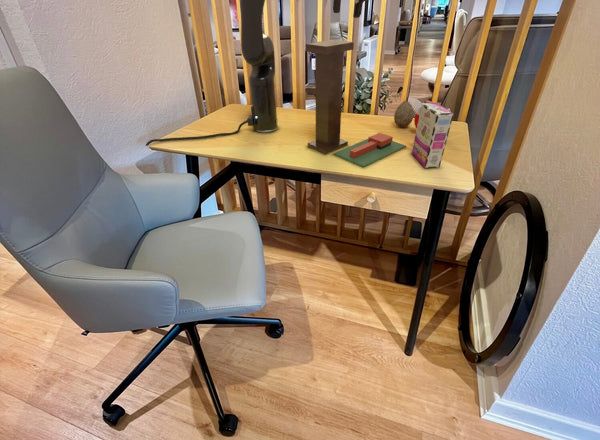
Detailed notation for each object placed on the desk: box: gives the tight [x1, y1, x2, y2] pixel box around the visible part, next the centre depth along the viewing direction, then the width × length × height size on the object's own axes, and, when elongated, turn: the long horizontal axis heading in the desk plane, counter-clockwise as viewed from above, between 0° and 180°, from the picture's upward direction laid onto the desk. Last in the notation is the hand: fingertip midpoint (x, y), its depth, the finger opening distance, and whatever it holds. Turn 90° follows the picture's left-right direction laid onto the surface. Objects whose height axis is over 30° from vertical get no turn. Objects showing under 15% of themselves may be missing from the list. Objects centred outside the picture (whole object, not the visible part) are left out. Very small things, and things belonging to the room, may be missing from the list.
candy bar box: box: [411, 102, 455, 169], centre depth 93 cm, size 11×5×16 cm, turn 5°
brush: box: [350, 132, 394, 159], centre depth 103 cm, size 17×6×3 cm, turn 130°
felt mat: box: [333, 138, 407, 168], centre depth 105 cm, size 22×13×1 cm, turn 130°
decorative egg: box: [393, 100, 415, 128], centre depth 119 cm, size 7×7×10 cm
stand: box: [305, 39, 355, 156], centre depth 100 cm, size 11×9×32 cm
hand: (346, 15), depth 95 cm, fingers open, 8 cm apart
